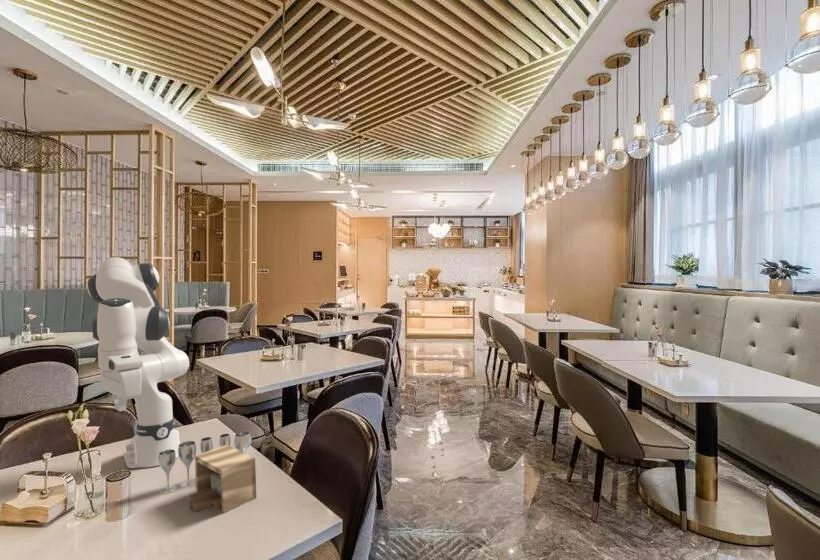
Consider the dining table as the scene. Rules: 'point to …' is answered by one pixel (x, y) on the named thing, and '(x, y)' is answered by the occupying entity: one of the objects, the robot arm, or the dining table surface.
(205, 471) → the wooden stand
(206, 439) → the goblet set
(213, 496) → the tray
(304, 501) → the dining table surface
